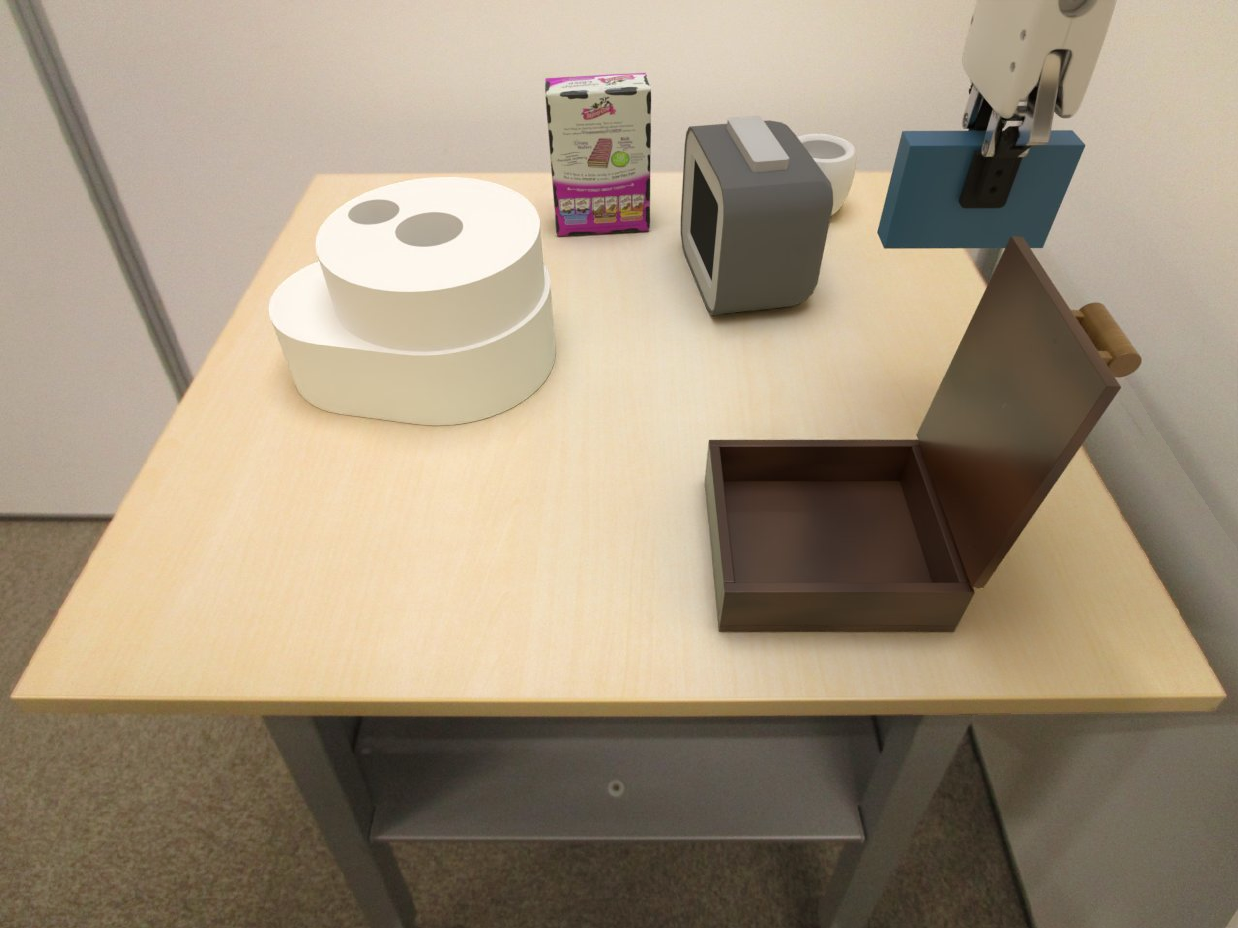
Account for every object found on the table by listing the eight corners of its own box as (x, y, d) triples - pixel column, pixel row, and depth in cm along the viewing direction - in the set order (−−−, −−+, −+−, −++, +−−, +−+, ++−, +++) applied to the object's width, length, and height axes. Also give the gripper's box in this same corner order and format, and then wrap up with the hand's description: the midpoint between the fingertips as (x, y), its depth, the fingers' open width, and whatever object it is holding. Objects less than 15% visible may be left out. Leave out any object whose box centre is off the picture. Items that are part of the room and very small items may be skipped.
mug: (773, 191, 102) (782, 129, 96) (841, 193, 102) (854, 131, 96) (780, 241, 94) (790, 176, 88) (854, 243, 93) (869, 179, 88)
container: (306, 311, 85) (264, 188, 75) (546, 289, 87) (535, 167, 77) (281, 443, 71) (225, 313, 61) (566, 412, 73) (556, 282, 64)
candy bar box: (645, 211, 99) (648, 70, 87) (650, 232, 95) (654, 88, 84) (553, 216, 98) (543, 75, 86) (555, 237, 95) (545, 93, 83)
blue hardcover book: (883, 249, 61) (910, 145, 56) (876, 232, 63) (902, 130, 57) (1043, 248, 61) (1086, 145, 55) (1031, 232, 63) (1072, 129, 57)
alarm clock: (679, 242, 94) (686, 106, 82) (773, 234, 95) (793, 98, 84) (713, 326, 82) (728, 180, 71) (820, 314, 84) (851, 170, 72)
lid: (1106, 386, 41) (1205, 393, 41) (1010, 235, 51) (1090, 242, 51) (971, 588, 53) (1048, 592, 54) (916, 434, 64) (980, 438, 64)
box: (718, 631, 57) (724, 592, 54) (704, 480, 67) (708, 439, 64) (954, 632, 57) (975, 592, 54) (904, 480, 67) (919, 439, 64)
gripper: (1210, -69, 41) (1066, 255, 54) (1084, -135, 52) (990, 146, 65) (1060, -68, 41) (953, 255, 54) (966, -135, 52) (897, 146, 65)
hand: (974, 193), depth 59 cm, fingers closed on blue hardcover book, 2 cm apart
